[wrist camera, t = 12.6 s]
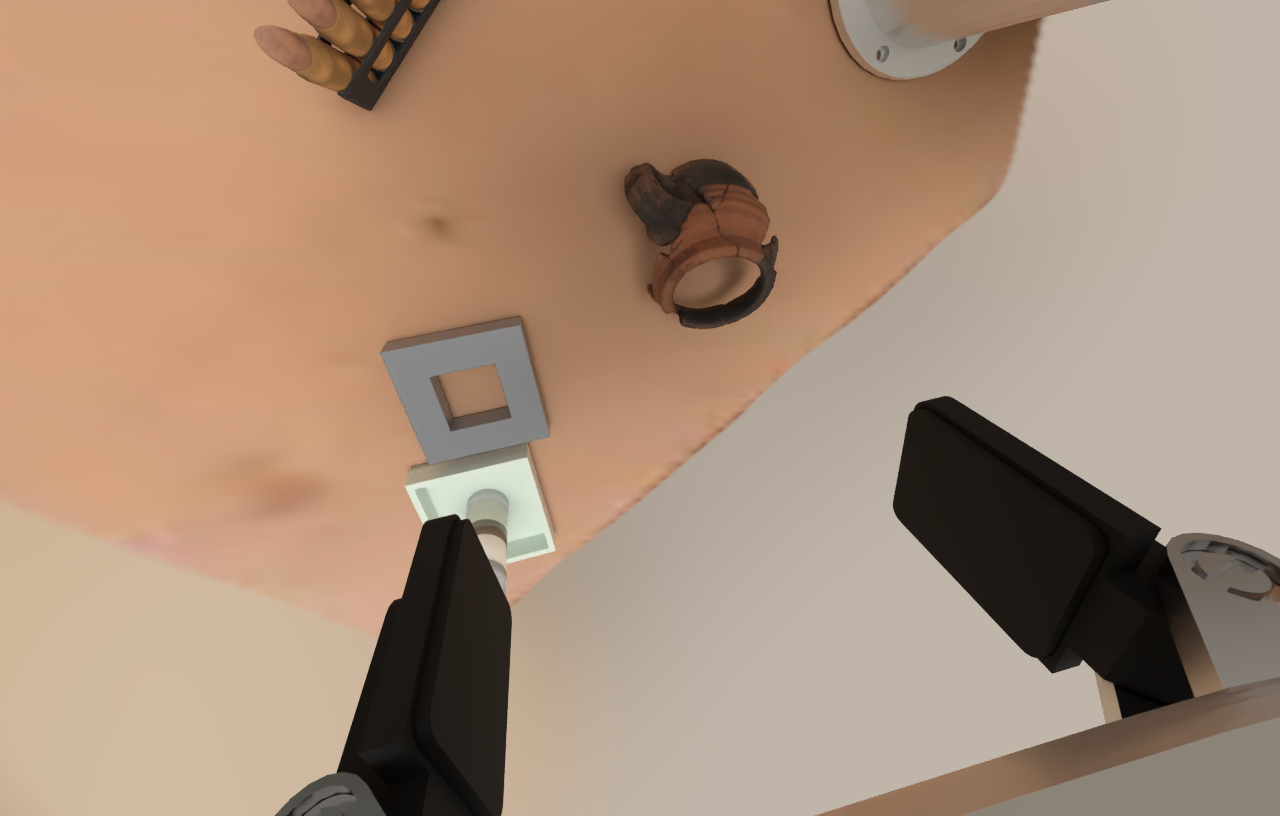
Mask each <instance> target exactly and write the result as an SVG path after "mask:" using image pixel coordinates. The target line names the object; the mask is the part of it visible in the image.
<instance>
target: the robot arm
mask: <svg viewBox="0 0 1280 816" xmlns="http://www.w3.org/2000/svg"><path fill="white" fill-rule="evenodd" d="M1104 1H1108V0H830V3H831V9H832V14H833V19H834V22H835V24H836V27H837V30H838V32H839V35H840V38H841V40H842V42H843V43H844V45H845V46H846V48H847V50H848V51H849V53H850V55H851V56H852V57H853V58H854V59H855V60H856V61H857V62H858V63H859V64H860V65H861V66H862V67H863V68H864V69H866V70H868V71H869V72H871V73H873V74H874V75H876V76H878V77H882V78H886V79H890V80H910V79H915V78H920V77H925V76H928V75H930V74H933V73H935V72H938V71H941V70H943V69H944V68H946V67H947V66H949V65H950V64H952V63H954V62H955V61H957V60H958V59H959V58H960V57H962V56H963V55H964V54H965V53H966V52H967V51H968V50H969V49H970V48H972V47H973V46H974V45H975V43H976V42H977V41H978V40H979V39H980V37H981V36H982V35H983V34H984V33H985V32H988V31H992V30H995V29H999V28H1003V27H1007V26H1011V25H1015V24H1019V23H1023V22H1026V21H1030V20H1034V19H1038V18H1042V17H1046V16H1050V15H1054V14H1057V13H1061V12H1065V11H1069V10H1073V9H1077V8H1081V7H1085V6H1088V5H1092V4H1096V3H1100V2H1104ZM893 509H894V512H895V514H896V516H897V518H898V519H899V520H900V521H901V523H902V524H903V525H904V526H905V527H906V528H907V529H908V530H909V531H910V532H911V533H912V534H913V535H914V536H915V537H916V539H918V541H919V542H920V543H921V544H922V545H923V546H924V547H925V548H926V549H927V550H928V551H929V552H930V553H931V554H932V555H933V556H934V557H935V559H936V560H937V561H938V562H939V563H940V564H941V565H942V566H943V567H944V568H945V569H946V570H947V571H948V572H949V573H950V574H951V575H952V576H953V578H954V579H955V580H956V581H958V583H959V584H960V585H961V586H962V587H963V588H964V589H965V590H966V591H967V592H968V593H969V594H970V595H971V596H972V597H973V599H974V600H975V601H976V602H977V603H978V604H979V605H980V606H981V607H982V608H983V609H984V610H985V611H986V612H987V613H988V614H989V616H991V618H992V619H993V620H994V621H995V622H996V623H997V624H998V625H999V626H1000V627H1001V628H1002V629H1003V630H1004V631H1005V632H1006V633H1007V635H1008V636H1010V638H1011V639H1012V640H1013V641H1014V642H1015V643H1016V644H1017V645H1018V646H1019V647H1020V648H1021V649H1022V650H1023V651H1024V652H1025V653H1026V654H1028V655H1030V656H1031V657H1035V658H1038V659H1039V660H1040V661H1041V662H1042V663H1043V664H1044V665H1045V667H1046V668H1048V670H1049V671H1050V672H1051V673H1056V672H1059V671H1062V670H1066V669H1069V668H1072V667H1076V666H1078V665H1080V663H1081V662H1082V660H1084V661H1085V662H1086V663H1087V664H1088V665H1089V666H1090V667H1091V668H1092V669H1093V670H1094V671H1095V676H1096V680H1097V685H1098V689H1099V694H1100V699H1101V703H1102V707H1103V712H1104V717H1105V721H1106V724H1105V725H1101V726H1098V727H1095V728H1092V729H1089V730H1085V731H1082V732H1079V733H1076V734H1072V735H1069V736H1066V737H1063V738H1060V739H1056V740H1053V741H1050V742H1047V743H1044V744H1040V745H1037V746H1034V747H1031V748H1028V749H1024V750H1021V751H1018V752H1015V753H1011V754H1008V755H1005V756H1002V757H999V758H995V759H992V760H990V761H986V762H983V763H980V764H977V765H973V766H970V767H967V768H964V769H961V770H958V771H954V772H951V773H948V774H945V775H942V776H939V777H936V778H932V779H929V780H926V781H923V782H920V783H916V784H913V785H910V786H907V787H904V788H901V789H898V790H895V791H891V792H888V793H885V794H882V795H879V796H876V797H873V798H869V799H866V800H863V801H860V802H857V803H854V804H850V805H847V806H844V807H841V808H838V809H835V810H832V811H829V812H825V813H822V814H819V815H816V816H1280V559H1279V558H1277V557H1275V556H1273V555H1271V554H1269V553H1267V552H1265V551H1264V550H1262V549H1259V548H1257V547H1254V546H1252V545H1249V544H1246V543H1244V542H1241V541H1238V540H1234V539H1231V538H1227V537H1223V536H1219V535H1213V534H1203V533H1189V534H1181V535H1178V536H1176V537H1173V538H1172V539H1171V540H1170V541H1169V543H1168V544H1167V546H1166V547H1165V546H1163V545H1162V544H1160V543H1159V542H1157V541H1155V538H1156V537H1157V535H1158V533H1159V532H1160V530H1161V528H1160V527H1158V526H1156V525H1155V524H1153V523H1152V522H1150V521H1148V520H1147V519H1145V518H1144V517H1142V516H1140V515H1139V514H1137V513H1136V512H1134V511H1132V510H1131V509H1129V508H1128V507H1126V506H1124V505H1123V504H1121V503H1120V502H1118V501H1117V500H1115V499H1113V498H1112V497H1110V496H1109V495H1107V494H1105V493H1104V492H1102V491H1101V490H1099V489H1097V488H1096V487H1094V486H1092V485H1091V484H1089V483H1088V482H1086V481H1084V480H1083V479H1081V478H1080V477H1078V476H1077V475H1075V474H1073V473H1072V472H1070V471H1069V470H1067V469H1065V468H1064V467H1062V466H1061V465H1059V464H1057V463H1056V462H1054V461H1053V460H1051V459H1049V458H1048V457H1046V456H1045V455H1043V454H1041V453H1040V452H1038V451H1037V450H1035V449H1034V448H1032V447H1030V446H1029V445H1027V444H1026V443H1024V442H1022V441H1021V440H1019V439H1018V438H1016V437H1014V436H1013V435H1011V434H1010V433H1008V432H1006V431H1005V430H1003V429H1002V428H1000V427H998V426H997V425H995V424H994V423H992V422H990V421H989V420H987V419H986V418H984V417H982V416H981V415H979V414H978V413H976V412H975V411H973V410H971V409H970V408H968V407H967V406H965V405H963V404H962V403H960V402H958V401H957V400H955V399H954V398H951V397H948V396H944V397H939V398H935V399H931V400H927V401H923V402H920V403H918V404H917V405H916V406H915V408H914V411H912V412H911V413H910V414H909V417H908V422H907V428H906V433H905V439H904V445H903V450H902V456H901V461H900V467H899V472H898V479H897V484H896V490H895V495H894V501H893ZM511 627H512V617H511V610H510V606H509V603H508V601H507V598H506V596H505V594H504V592H503V590H502V588H501V585H500V583H499V581H498V579H497V577H496V575H495V572H494V570H493V568H492V566H491V564H490V562H489V559H488V557H487V555H486V553H485V551H484V549H483V546H482V544H481V542H480V540H479V538H478V536H477V533H476V531H475V529H474V527H473V525H472V523H471V521H470V520H469V519H463V520H461V519H460V517H459V516H458V515H457V514H452V515H448V516H444V517H440V518H436V519H432V520H427V521H426V522H425V523H424V525H423V527H422V530H421V534H420V537H419V541H418V544H417V548H416V551H415V555H414V558H413V561H412V565H411V568H410V572H409V575H408V579H407V582H406V586H405V589H404V593H403V596H402V598H401V599H397V600H394V601H393V602H392V604H391V605H390V606H389V608H388V611H387V613H386V616H385V619H384V622H383V626H382V629H381V632H380V635H379V638H378V642H377V645H376V648H375V651H374V655H373V658H372V661H371V664H370V667H369V670H368V674H367V677H366V680H365V683H364V686H363V690H362V693H361V696H360V699H359V703H358V706H357V709H356V712H355V716H354V719H353V722H352V725H351V728H350V731H349V735H348V738H347V741H346V744H345V747H344V751H343V754H342V757H341V761H340V763H339V767H338V770H337V773H336V774H330V775H326V776H324V777H322V778H320V779H318V780H316V781H315V782H312V783H310V784H309V785H307V786H306V787H305V788H303V789H302V790H301V791H300V792H298V793H297V794H296V795H295V796H293V797H292V798H291V799H290V800H289V801H288V802H287V803H286V804H285V805H284V806H283V807H282V808H281V810H280V811H279V812H278V813H277V814H276V815H275V816H501V813H502V807H503V793H504V773H505V752H506V730H507V710H508V690H509V689H508V687H509V669H510V648H511Z"/></svg>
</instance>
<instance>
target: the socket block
mask: <svg viewBox="0 0 1280 816" xmlns="http://www.w3.org/2000/svg"><path fill="white" fill-rule="evenodd" d="M380 355H381V357H382V359H383V361H384V364H385V366H386V368H387V371H388V373H389V375H390V377H391V380H392V382H393V384H394V387H395V389H396V391H397V393H398V396H399V398H400V400H401V402H402V405H403V407H404V409H405V412H406V414H407V416H408V418H409V421H410V423H411V425H412V427H413V430H414V432H415V434H416V437H417V439H418V441H419V443H420V446H421V448H422V450H423V452H424V455H425V457H426V459H427V462H428V464H429V465H431V464H435V463H439V462H444V461H448V460H452V459H457V458H461V457H465V456H470V455H474V454H478V453H483V452H487V451H491V450H496V449H500V448H504V447H509V446H513V445H517V444H522V443H526V442H530V441H535V440H539V439H543V438H548V437H550V431H549V423H548V420H547V416H546V412H545V408H544V405H543V401H542V397H541V393H540V390H539V386H538V382H537V378H536V375H535V371H534V367H533V363H532V360H531V356H530V352H529V348H528V345H527V341H526V337H525V333H524V330H523V326H522V322H521V318H520V316H518V317H513V318H508V319H503V320H498V321H493V322H488V323H483V324H477V325H472V326H467V327H462V328H457V329H452V330H447V331H442V332H436V333H431V334H426V335H421V336H416V337H411V338H406V339H401V340H395V341H390V342H387V343H386V344H385V346H384V347H383V349H382V350H381V352H380ZM490 364H495V365H496V368H497V372H498V375H499V378H500V381H501V384H502V388H503V391H504V394H505V397H506V401H507V404H508V407H503V408H498V409H494V410H489V411H485V412H480V413H476V414H471V415H467V416H462V417H457V418H453V415H452V412H451V410H450V407H449V405H448V402H447V399H446V397H445V394H444V392H443V389H442V386H441V384H440V381H439V378H438V376H437V375H442V374H447V373H452V372H457V371H461V370H466V369H471V368H476V367H481V366H486V365H490Z"/></svg>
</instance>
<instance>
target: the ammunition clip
mask: <svg viewBox="0 0 1280 816" xmlns="http://www.w3.org/2000/svg"><path fill="white" fill-rule="evenodd" d="M439 1H440V0H287V2H288V3H289V5H290V6H291V7H292V8H293V9H294V10H295V11H296V12H297V13H298V14H299V15H300V16H301V17H302V18H303V19H304V20H306V21H307V22H308V23H309V24H310V25H311V26H313V27H314V29H315V30H316V31H317V32H318V33H319V36H318V38H315V37H313V36H310V35H306V34H298V33H295V32H291V31H289V30H287V29H284V28H280V27H276V26H261V27H258V28H257V29H256V30H255V31H254V38H255V41H256V42H257V44H258V45H259V47H260V48H261V49H262V50H263V51H264V52H265V53H266V54H267V55H268V56H269V57H270V58H272V59H273V60H275V61H276V62H278V63H280V64H281V65H283V66H285V67H287V68H289V69H291V70H292V71H294V72H296V73H297V74H298V75H299V76H300V77H302V78H303V79H305V80H307V81H308V82H311V83H314V84H316V85H319V86H322V87H325V88H328V89H330V90H333V91H336V92H338V93H337V94H338V95H340V96H341V97H342V98H344V99H346V100H348V101H350V102H352V103H354V104H356V105H358V106H360V107H362V108H364V109H366V110H369V111H370V110H372V108H373V107H374V105H375V104H376V102H377V100H378V99H379V97H380V96H381V94H382V92H383V91H384V89H385V88H386V86H387V84H388V83H389V81H390V80H391V78H392V76H393V75H394V73H395V72H396V70H397V68H398V67H399V65H400V64H401V62H402V60H403V59H404V57H405V56H406V54H407V52H408V51H409V49H410V48H411V46H412V45H413V43H414V41H415V40H416V38H417V37H418V35H419V33H420V32H421V30H422V29H423V27H424V25H425V24H426V22H427V21H428V19H429V17H430V16H431V14H432V13H433V11H434V9H435V8H436V6H437V5H438V3H439ZM352 3H353V4H354V5H355V6H356V7H357V8H358V9H359V10H360V11H361V12H363V13H364V14H365V15H366V16H367V17H366V19H365V18H363V17H362V16H361V15H360V14H359V13H358V12H356V11H355V10H354V9H353V8H352V7H351V4H352ZM331 43H332V44H333V45H335V46H336V47H338V48H340V49H341V50H343V51H345V53H342V52H340V51H339V50H337V49H335V48H333V47H332V46H331Z"/></svg>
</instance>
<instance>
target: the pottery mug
mask: <svg viewBox="0 0 1280 816" xmlns="http://www.w3.org/2000/svg"><path fill="white" fill-rule="evenodd" d="M672 175H673V177H672V176H666V175H663V174H661V173H660V172H658V171H657V170H656V169H655V168H654V167H653V166H652V165H650V164H648V163H644V164H642V165H638V166H635V167H633V168H632V169H631V171H630V173H629V174H628V175H627V176H626V177H625V193H626V197H627V200H628V202H629V204H630V205H631V207H632V209H633V210H634V211H635V213H636V214H637V215H638V216H639V217H640V219H641V220H642V221H643V222H644V223H645V225H646V229H647V235H648V237H649V238H650V239H651V240H653V241H654V242H655V243H656V244H657V245H660V246H666V245H668V244H670V243H672V246H671V251H670V253H669V255H667V254H664V253H662V252H660V253H658V255H657V258H656V263H655V267H654V271H653V285H651V284H649V285H648V286H647V288H648V293H649V294H651V297H652V299H653V300H654V301H656V302H657V303H659V304H660V305H661V306H662V308H663V310H664V312H665V313H666V314H668V313H671V312H673V313H676V314H678V315H679V318H680V323H681V325H682V326H684V327H689V328H694V329H696V328H698V329H710V328H716V327H720V326H723V325H725V324H730V323H733V322H737V321H738V320H740V319H741V318H744V317H746V316H748V315H749V314H751V313H752V312H753V311H755V310H756V309H757V308H759V307H760V306H761V304H763V303H764V302H765V300H766V298H767V297H768V296H769V294H770V292H771V290H772V288H773V287H774V282H775V278H776V273H777V272H776V271H775V270H774V265H775V261H776V257H777V252H778V239H777V237H776V236H775V235H774V236H772V238H771V242H770V243H768V244H767V245H761V244H762V241H763V240H764V238H765V235H766V232H767V230H768V225H769V223H770V219H769V217H768V214H767V210H766V207H765V206H764V205H763V204H762V203H761V202H759V201H758V199H759V198H758V195H757V192H756V190H755V188H754V186H753V185H752V184H751V183H750V181H749V180H748V179H747V178H746V177H744V176H743V175H742V174H741V173H739V172H738V171H737V170H735V169H734V168H733V167H731V166H729V165H728V164H726V163H724V162H720V161H717V160H706V159H702V160H694V161H690V162H688V163H686V164H683V165H681V166H679V167H677V168H675V169H673V170H672ZM694 194H696V195H697V196H698V197H699V198H700V199H701V200H703V202H704V203H695V204H692V202H691V200H690V199H691V197H692V196H693V195H694ZM735 256H736V257H739V258H744V259H747V260H750V261H752V262H753V263H755V264H757V265H758V267H759V268H760V271H761V276H759V277H758V278H757V280H756V282H755V283H754V285H753V286H752V287H751V288H750V289H749V290H748V291H747V292H746V293H744V294H743V295H741V296H739V297H737V298H735V299H734V300H732V301H730V302H729V303H727V304H725V305H724V304H720V305H716V306H712V307H708V308H701V309H694V308H687V307H683V306H680V305H677V304H675V303H674V301H673V293H674V290H675V287H676V286H677V284H678V282H679V281H680V280H681V278H682V277H683V276H684V275H685V273H686V272H688V271H690V270H691V269H693V268H695V267H696V266H699V265H701V264H703V263H705V262H708V261H710V260H714V259H718V258H723V257H735Z"/></svg>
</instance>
